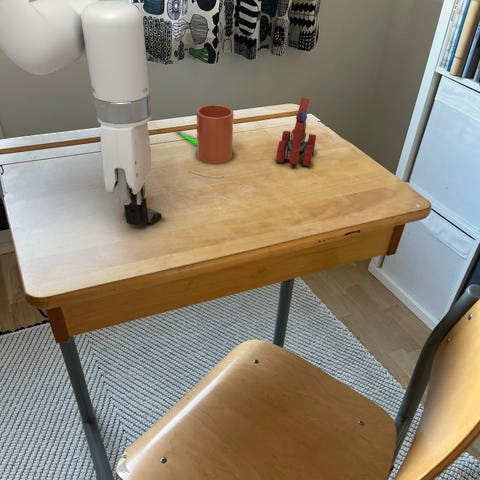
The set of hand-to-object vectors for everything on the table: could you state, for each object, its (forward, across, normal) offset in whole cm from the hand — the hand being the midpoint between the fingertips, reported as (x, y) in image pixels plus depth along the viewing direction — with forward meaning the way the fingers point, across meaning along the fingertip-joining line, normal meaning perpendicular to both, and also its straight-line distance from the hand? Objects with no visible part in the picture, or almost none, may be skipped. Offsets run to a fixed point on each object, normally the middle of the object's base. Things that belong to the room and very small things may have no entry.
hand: (137, 221), depth 83 cm
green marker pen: (+2, -34, +4) cm, 34 cm away
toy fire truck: (+2, -31, +25) cm, 40 cm away
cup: (+1, -29, +9) cm, 30 cm away
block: (+1, -3, 0) cm, 4 cm away
